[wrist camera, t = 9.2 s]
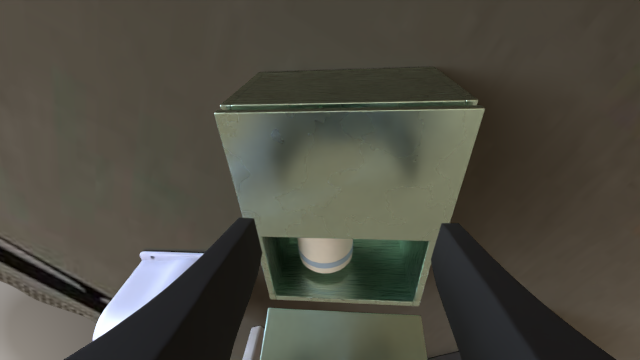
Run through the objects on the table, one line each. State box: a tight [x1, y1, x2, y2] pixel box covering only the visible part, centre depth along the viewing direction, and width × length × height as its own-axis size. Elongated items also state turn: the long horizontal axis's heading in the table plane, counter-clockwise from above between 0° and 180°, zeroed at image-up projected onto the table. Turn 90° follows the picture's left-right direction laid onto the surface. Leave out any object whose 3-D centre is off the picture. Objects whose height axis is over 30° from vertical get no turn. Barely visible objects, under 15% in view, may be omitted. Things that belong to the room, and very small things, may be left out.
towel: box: [297, 238, 353, 273], centre depth 21 cm, size 4×6×4 cm
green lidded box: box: [214, 67, 485, 306], centre depth 18 cm, size 15×11×7 cm
